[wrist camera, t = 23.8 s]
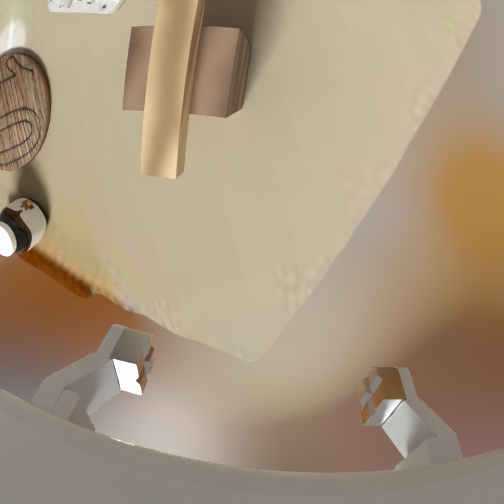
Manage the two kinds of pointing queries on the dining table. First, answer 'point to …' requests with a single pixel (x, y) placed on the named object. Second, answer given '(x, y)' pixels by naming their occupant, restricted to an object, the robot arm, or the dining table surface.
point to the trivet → (22, 110)
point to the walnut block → (196, 70)
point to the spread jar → (21, 226)
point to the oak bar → (170, 86)
